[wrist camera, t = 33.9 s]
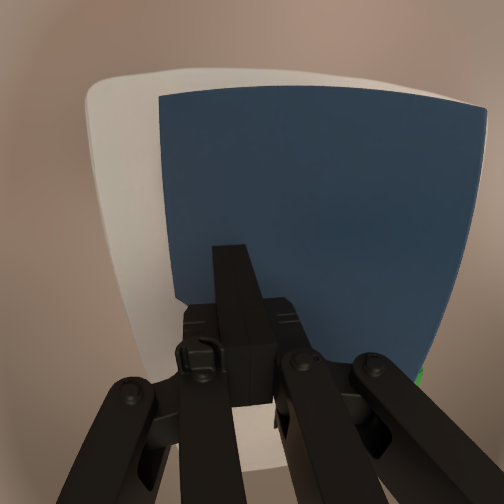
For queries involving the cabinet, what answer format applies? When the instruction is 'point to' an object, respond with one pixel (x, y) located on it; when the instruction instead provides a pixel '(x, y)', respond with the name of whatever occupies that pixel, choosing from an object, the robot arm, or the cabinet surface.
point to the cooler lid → (326, 205)
